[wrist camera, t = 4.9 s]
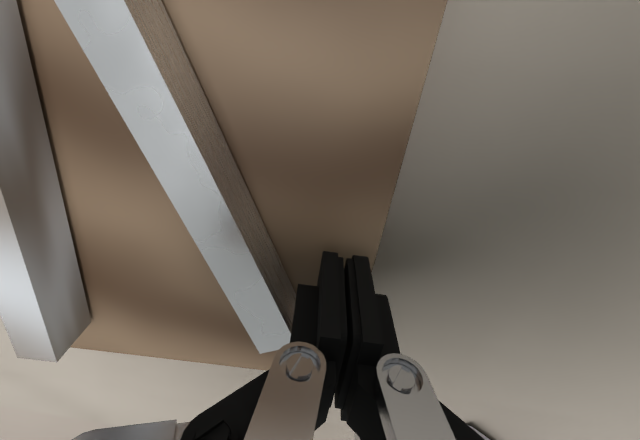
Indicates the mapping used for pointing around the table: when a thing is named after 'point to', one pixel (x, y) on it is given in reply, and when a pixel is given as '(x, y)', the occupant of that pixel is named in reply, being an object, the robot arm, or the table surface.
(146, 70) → the tong arm
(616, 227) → the table surface
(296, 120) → the board
